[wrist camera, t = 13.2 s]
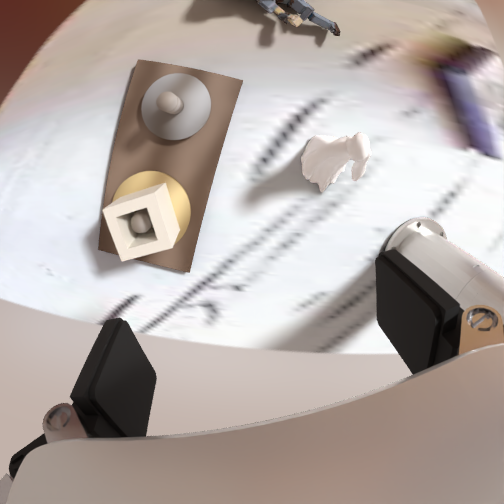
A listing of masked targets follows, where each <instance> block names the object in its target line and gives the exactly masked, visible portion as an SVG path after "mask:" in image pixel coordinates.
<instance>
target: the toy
mask: <svg viewBox="0 0 504 504" xmlns="http://www.w3.org/2000/svg"><path fill="white" fill-rule="evenodd" d="M256 1H259V2H258V4H259V5H260V6H261V7H263V8H264V9H265V10H266V11H268V12H269V13H270V14H271V13H272V12H273V11H274V12H275V13H276V14H277V17H278V18H279V19H280V20H282V21H283V22H284V23H285V24H288V23H290V24H291V25H293V26H296V27H298V26H299V25H300V24H301V23H302V22H303V21H305V20H306V19H307V18H308V19H309V21H311V22H313V23H315V24H317V25H319V26H321V27H323V28H325V29H328V30H330V31H331V33H333V34H334V35H335V36H340V30H339V28H338V26H337V24H336V23H335V22H331V21H330V20H328V19H326V18H324V17H323V16H321V15H319V14H317V13H315V12H313V11H314V8H312V7H311V6H310V5H309V4H308V3H307V2H305V1H304V0H256ZM277 3H284V4H286V5H287V7H289V8H293V9H294V10H295V11H296V12H297V13H298V14H301V15H300V16H298V15H295V14H294V15H292V14H291V13H285V11H284V10H283V9H281V8H280V7H279V6H278V5H277Z"/></svg>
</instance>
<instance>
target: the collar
mask: <svg viewBox="0 0 504 504" xmlns="http://www.w3.org/2000/svg"><path fill="white" fill-rule="evenodd" d="M143 208H147V209H148V212H149V215H150V218H151V221H152V224H153V227H152V228H150V229H149V230H148V231H147V232H145V233H137V232H136V231H134V230H133V228H132V226H131V218H132V216H133V215H134V214H135V211H137V210H140V209H143ZM103 213H104V216H105V219H106V222H107V225H108V227H109V230H110V233H111V235H112V238H113V241H114V243H115V246H116V249H117V251H118V254H119V256H120V259H121V261H122V262H123V261H126V260H130V259H134V258H137V257H141V256H145V255H148V254H152V253H156V252H160V251H163V250H167V249H171V248H173V245H174V243H175V241H176V238H177V236H178V233H179V231H180V228H179V225H178V222H177V218H176V215H175V212H174V209H173V205H172V202H171V199H170V196H169V192H168V189H167V185H166V183H162V184H159V185H156V186H152V187H149V188H146V189H143V190H140V191H137V192H134V193H131V194H128V195H125V196H122V197H120V198H118V199H117V200H115V201H114V202H112V203H111V204H110V205H108V206H107V207H105V208H104V209H103Z"/></svg>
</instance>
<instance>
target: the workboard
mask: <svg viewBox="0 0 504 504" xmlns="http://www.w3.org/2000/svg"><path fill="white" fill-rule="evenodd" d="M242 82H243V80H239V79H236V78H232V77H228V76H224V75H220V74H216V73H211V72H207V71H202V70H198V69H193V68H188V67H183V66H177V65H172V64H166V63H160V62H153V61H146V60H138V61H137V64H136V67H135V70H134V73H133V76H132V79H131V83H130V86H129V89H128V93H127V96H126V99H125V103H124V107H123V110H122V114H121V118H120V122H119V126H118V130H117V135H116V139H115V143H114V148H113V153H112V158H111V163H110V168H109V173H108V179H107V185H106V191H105V197H104V204H103V209H104V208H105V207H107V206H108V205H110V204H111V203H112V202H114V201H115V200H117V199H118V198H120V197H122V196H125V195H128V194H131V193H134V192H137V191H140V190H143V189H146V188H149V187H152V186H156V185H159V184H162V183H166V185H167V189H168V192H169V196H170V199H171V202H172V205H173V209H174V212H175V215H176V218H177V222H178V225H179V228H180V231H179V233H178V236H177V238H176V241H175V243H174V245H173V248H171V249H167V250H163V251H160V252H156V253H152V254H148V255H145V256H141V257H137V258H134V259H136V260H140V261H144V262H148V263H152V264H156V265H160V266H164V267H168V268H172V269H176V270H180V271H184V272H189V273H190V269H191V265H192V260H193V256H194V252H195V248H196V244H197V240H198V236H199V232H200V228H201V224H202V220H203V216H204V212H205V208H206V204H207V200H208V197H209V193H210V189H211V186H212V182H213V178H214V175H215V171H216V168H217V164H218V161H219V157H220V154H221V150H222V147H223V143H224V140H225V137H226V133H227V130H228V127H229V123H230V120H231V117H232V114H233V110H234V107H235V104H236V101H237V98H238V95H239V92H240V88H241V85H242ZM131 226H132V228H133V230H134V231H136V232H137V233H145V232H147V231H148V230H149V229H150V228H152V227H153V224H152V221H151V218H150V215H149V212H148V209H147V208H143V209H140V210H137V211H135V214H134V215H133V216H132V218H131ZM98 250H101V251H105V252H109V253H113V254H116V255H119V254H118V251H117V249H116V246H115V243H114V241H113V238H112V235H111V233H110V230H109V227H108V225H107V222H106V219H105V216H104V213H103V211H102V219H101V227H100V236H99V247H98Z"/></svg>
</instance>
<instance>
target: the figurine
mask: <svg viewBox="0 0 504 504" xmlns="http://www.w3.org/2000/svg"><path fill="white" fill-rule="evenodd" d="M369 147H370V143H369V139H368V137H367V136H366V135H365V134H363V133H361V132H358V133H357V134H356V135H354V136H353V137H347V135H346V137H342V138H338V139H337V138H336V137H334V136H321V135H316V136H314V137H312V138H311V140H310V141H309V142H308V144H307V146H306V149H305V151H304V153H303V155H302V157H301V162H302V174H303V175H304V176H305V177H306V179H307V180H308V179H310V182H311V183H318V185H319V189H320V191H321V192H324V190H325V189H326V187H327V186H328V185H329V184H330V183H333V184H334V183H335V181H336V179H337V177H338V176H339V175H340V173H342V172H344V171H345V167H346V166H345V165H346V163H347V162H348V161H349V160H351V159H352V160H353V161H355V162H354V164H353V166H352V169H351V171H352V180H353V181H357V180H358V179H360V178H361V177H362V176H363V175H364V173H365V169H366V164H367V162H368V160H369V158H370V156H371V149H370V148H369Z"/></svg>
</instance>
